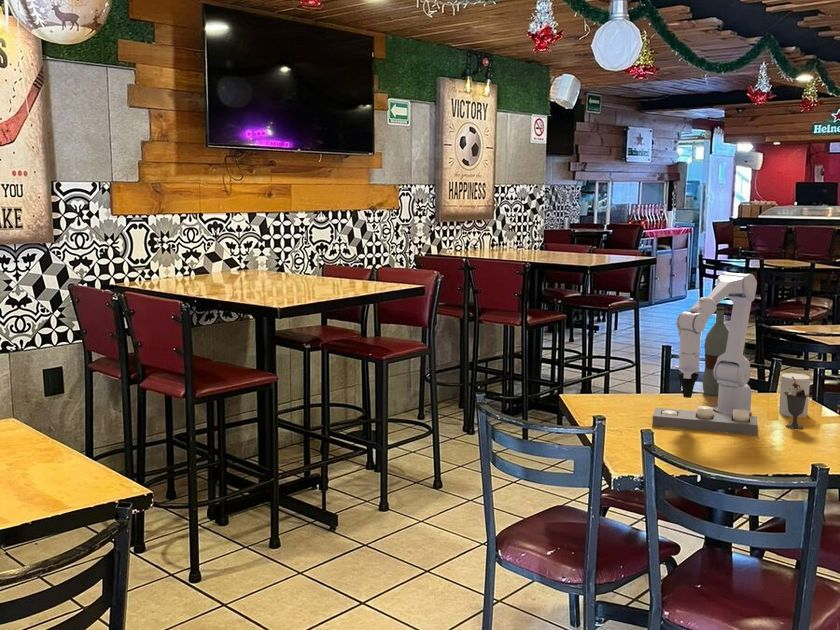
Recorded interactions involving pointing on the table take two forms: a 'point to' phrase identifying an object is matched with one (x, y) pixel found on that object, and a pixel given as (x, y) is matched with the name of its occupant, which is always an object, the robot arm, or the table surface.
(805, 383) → the cup
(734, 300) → the robot arm
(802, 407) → the sundae
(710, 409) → the button mid
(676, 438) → the table surface
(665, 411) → the button
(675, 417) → the control strip
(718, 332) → the bottle
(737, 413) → the button
